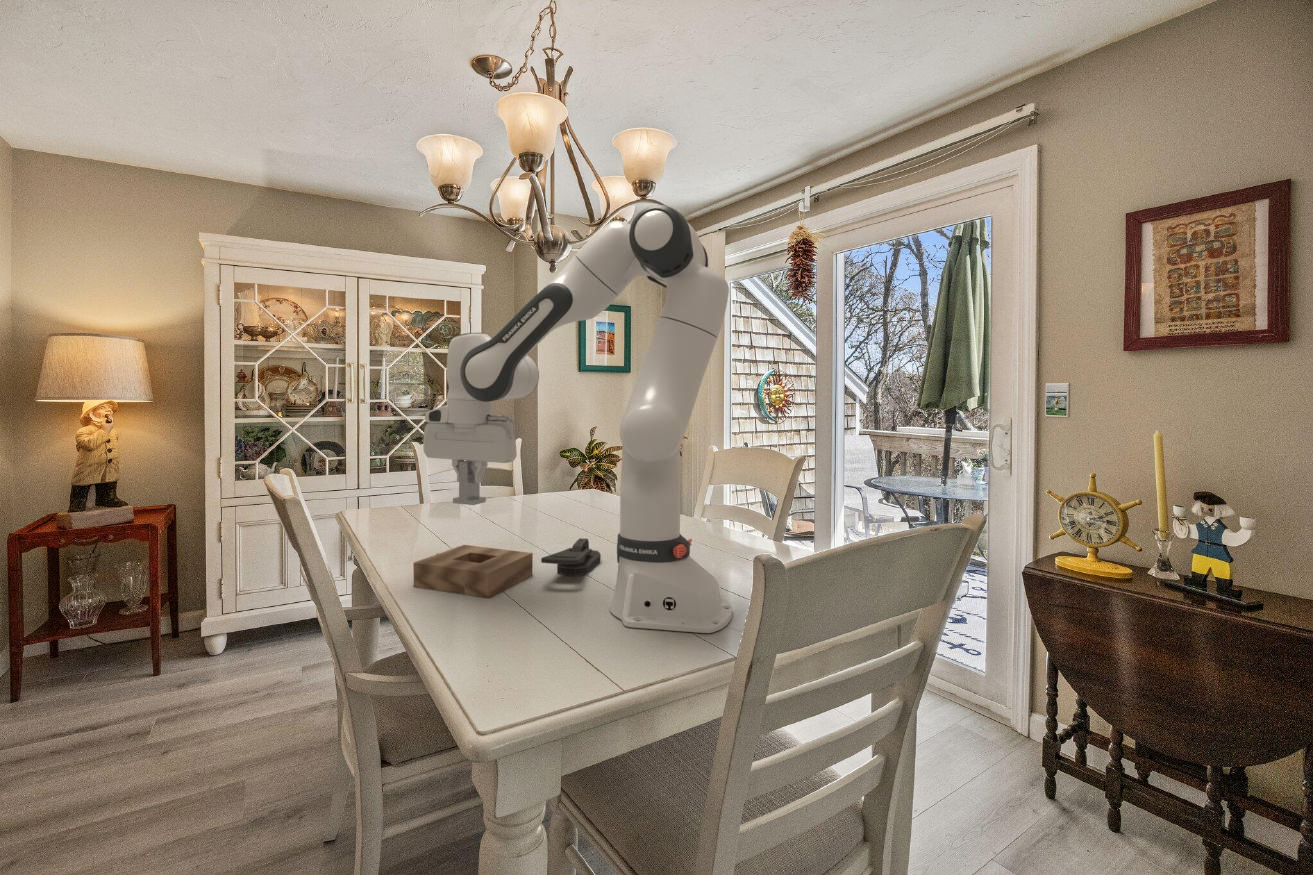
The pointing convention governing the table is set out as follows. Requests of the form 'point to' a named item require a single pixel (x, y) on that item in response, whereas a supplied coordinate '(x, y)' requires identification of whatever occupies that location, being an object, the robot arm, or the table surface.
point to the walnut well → (473, 570)
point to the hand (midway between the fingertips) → (469, 482)
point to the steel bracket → (468, 485)
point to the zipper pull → (575, 559)
